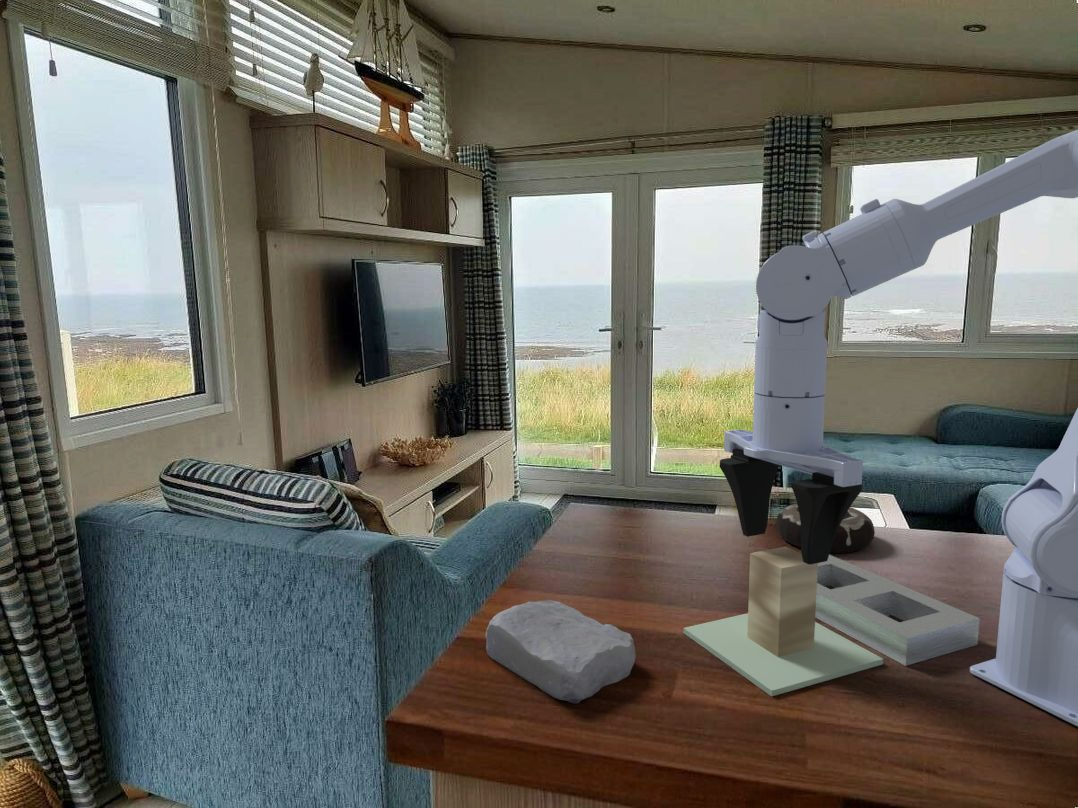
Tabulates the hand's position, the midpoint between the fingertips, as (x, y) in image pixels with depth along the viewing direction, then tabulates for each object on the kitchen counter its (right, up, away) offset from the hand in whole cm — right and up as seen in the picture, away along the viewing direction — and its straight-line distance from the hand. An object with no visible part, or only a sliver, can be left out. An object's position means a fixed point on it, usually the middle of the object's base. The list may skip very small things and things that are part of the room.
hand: (783, 547), depth 64 cm
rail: (+10, -8, +8) cm, 15 cm away
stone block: (-19, -10, 0) cm, 22 cm away
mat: (0, -9, +1) cm, 9 cm away
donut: (+15, -5, +29) cm, 33 cm away
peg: (0, -9, +1) cm, 9 cm away
